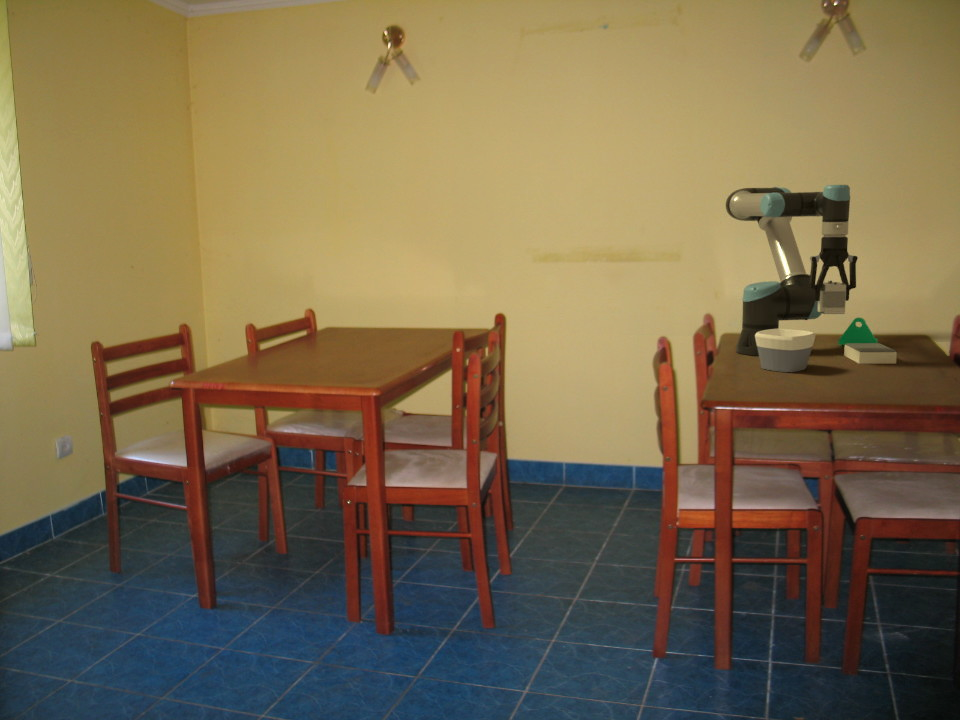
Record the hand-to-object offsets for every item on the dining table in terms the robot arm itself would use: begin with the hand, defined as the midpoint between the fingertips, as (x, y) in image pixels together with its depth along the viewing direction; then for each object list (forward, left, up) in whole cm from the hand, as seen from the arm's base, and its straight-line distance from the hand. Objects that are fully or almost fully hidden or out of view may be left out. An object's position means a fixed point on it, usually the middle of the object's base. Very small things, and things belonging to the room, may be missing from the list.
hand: (831, 311), depth 277 cm
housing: (0, 0, 0) cm, 0 cm away
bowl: (-16, -11, -16) cm, 25 cm away
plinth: (+14, +5, -16) cm, 22 cm away
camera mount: (+18, +31, -16) cm, 39 cm away
